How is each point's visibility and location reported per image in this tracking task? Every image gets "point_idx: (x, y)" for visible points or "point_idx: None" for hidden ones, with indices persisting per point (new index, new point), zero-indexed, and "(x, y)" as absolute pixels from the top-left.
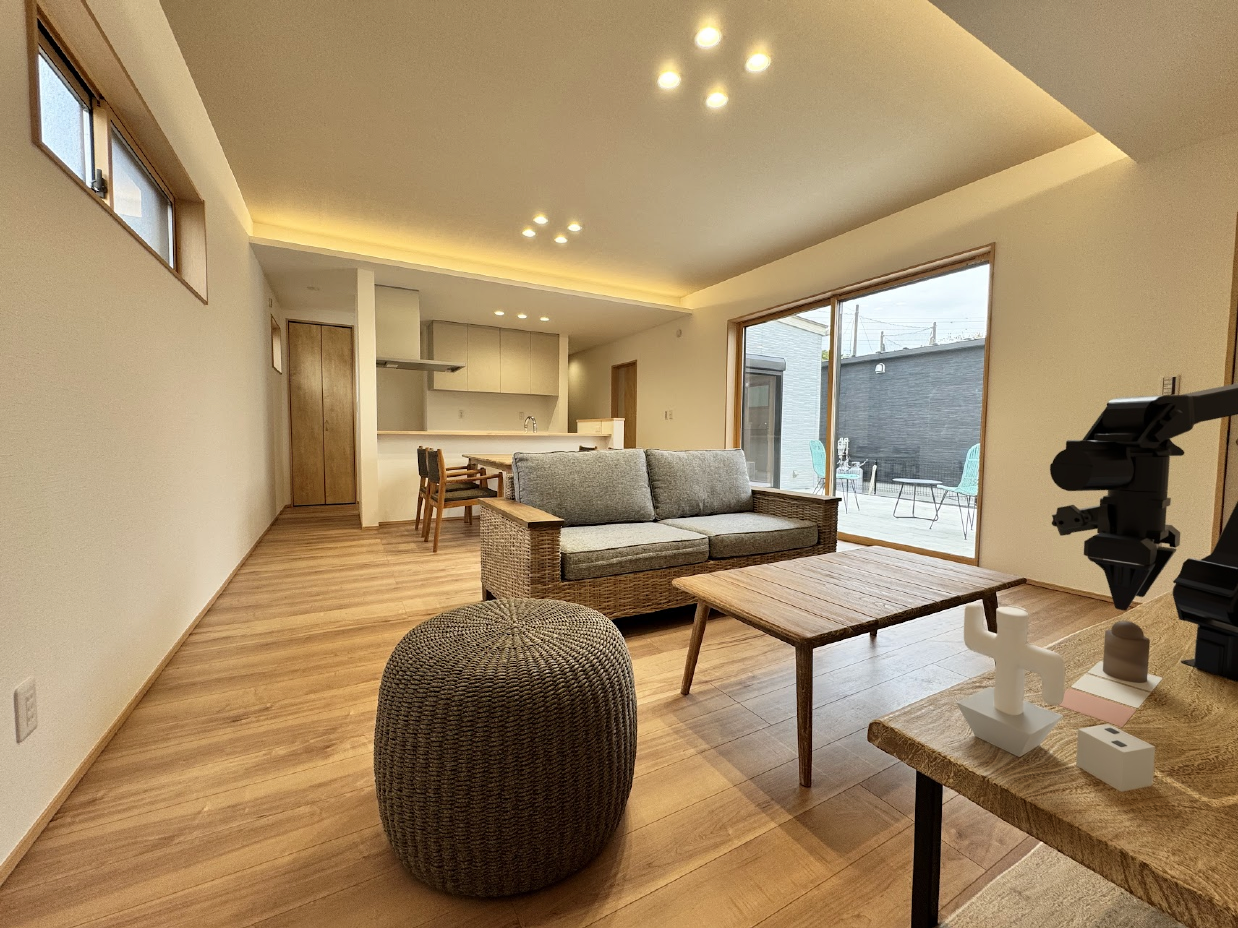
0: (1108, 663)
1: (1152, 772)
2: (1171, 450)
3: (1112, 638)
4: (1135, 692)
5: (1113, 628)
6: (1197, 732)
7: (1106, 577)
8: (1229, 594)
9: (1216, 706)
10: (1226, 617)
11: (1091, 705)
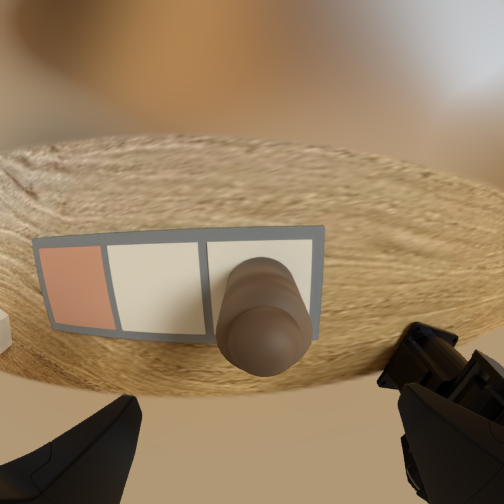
0: (230, 279)
1: (5, 349)
2: None
3: (220, 313)
4: (183, 319)
5: (241, 322)
6: (136, 377)
7: (23, 456)
8: (418, 495)
9: (257, 385)
10: (410, 452)
11: (72, 286)
